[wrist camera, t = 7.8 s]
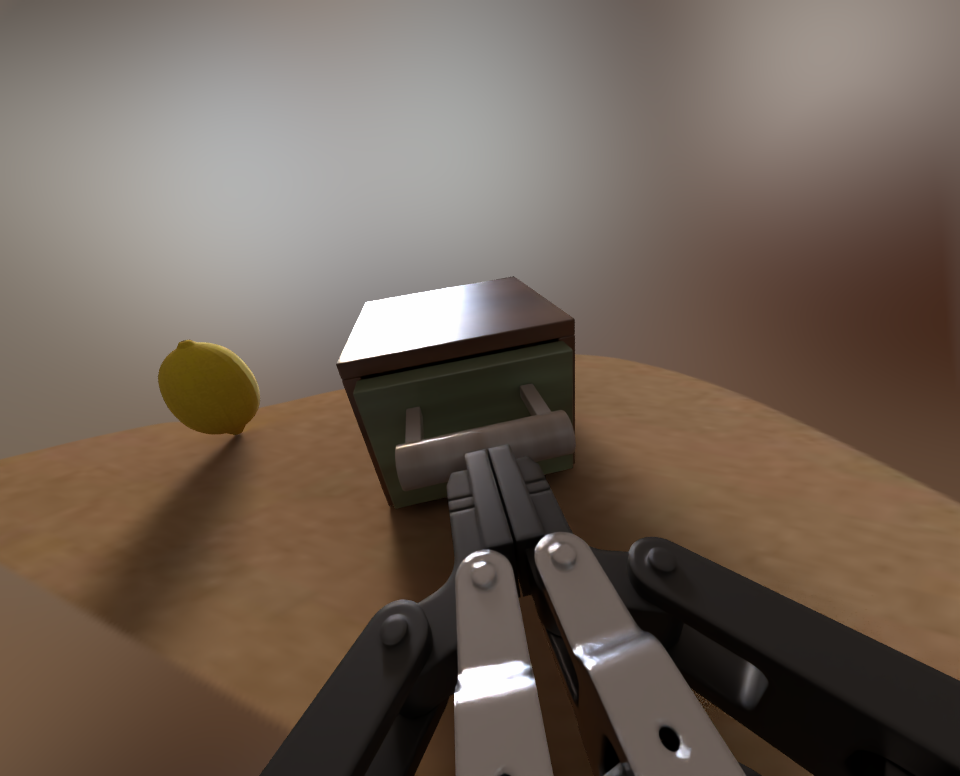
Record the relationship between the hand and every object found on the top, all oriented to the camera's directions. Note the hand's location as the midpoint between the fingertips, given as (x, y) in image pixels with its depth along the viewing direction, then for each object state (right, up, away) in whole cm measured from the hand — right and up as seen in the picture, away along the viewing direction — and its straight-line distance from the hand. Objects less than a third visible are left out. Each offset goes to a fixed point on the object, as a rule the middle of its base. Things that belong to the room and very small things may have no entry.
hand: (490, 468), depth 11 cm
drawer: (0, -1, +9) cm, 9 cm away
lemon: (-20, -1, +16) cm, 25 cm away
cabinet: (-1, 0, +12) cm, 12 cm away
